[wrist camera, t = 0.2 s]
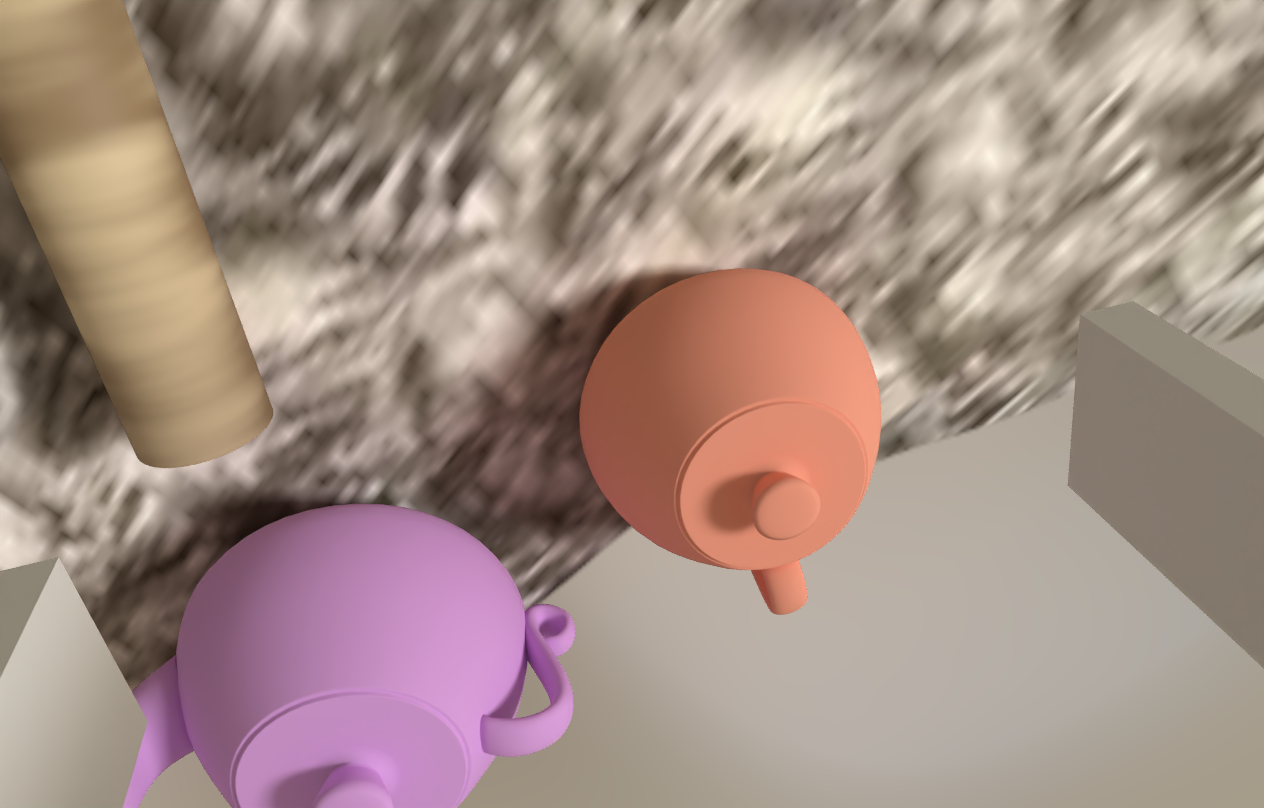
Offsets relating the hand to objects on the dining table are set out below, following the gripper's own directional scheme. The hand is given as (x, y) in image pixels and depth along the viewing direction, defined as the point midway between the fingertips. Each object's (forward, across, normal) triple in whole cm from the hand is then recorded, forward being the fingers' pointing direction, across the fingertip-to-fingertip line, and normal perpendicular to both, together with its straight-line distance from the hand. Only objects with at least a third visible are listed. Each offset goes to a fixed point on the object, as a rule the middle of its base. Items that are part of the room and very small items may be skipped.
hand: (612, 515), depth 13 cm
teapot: (+28, -11, -20) cm, 36 cm away
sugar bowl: (+28, +7, -15) cm, 32 cm away
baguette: (+27, -13, +2) cm, 30 cm away
